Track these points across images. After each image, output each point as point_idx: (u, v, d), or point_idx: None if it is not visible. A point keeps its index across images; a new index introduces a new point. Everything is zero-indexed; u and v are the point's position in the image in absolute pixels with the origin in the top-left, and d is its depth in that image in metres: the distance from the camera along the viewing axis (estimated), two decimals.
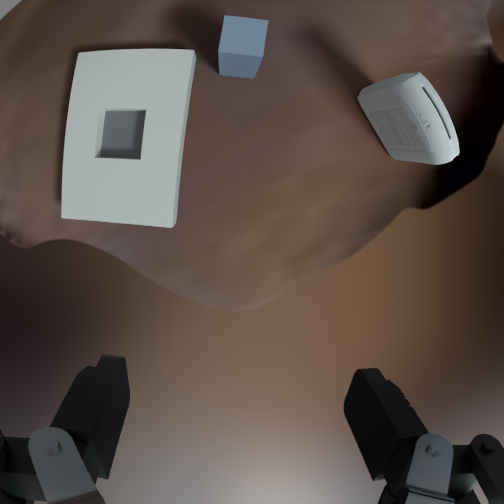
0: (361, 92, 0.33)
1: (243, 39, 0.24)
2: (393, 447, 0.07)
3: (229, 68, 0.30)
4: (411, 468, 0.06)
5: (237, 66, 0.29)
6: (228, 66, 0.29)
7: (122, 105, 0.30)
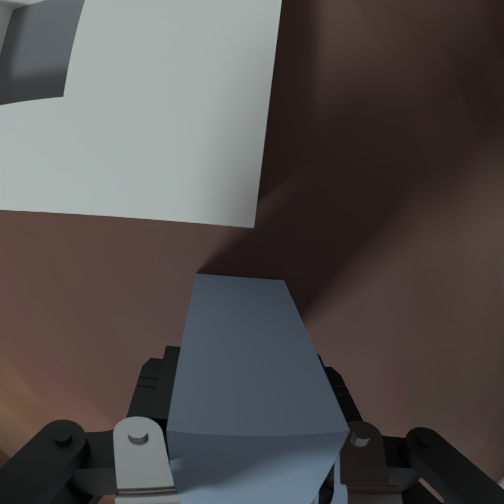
0: None
1: (232, 482, 0.06)
2: None
3: None
4: (341, 462, 0.06)
5: None
6: None
7: (87, 24, 0.08)
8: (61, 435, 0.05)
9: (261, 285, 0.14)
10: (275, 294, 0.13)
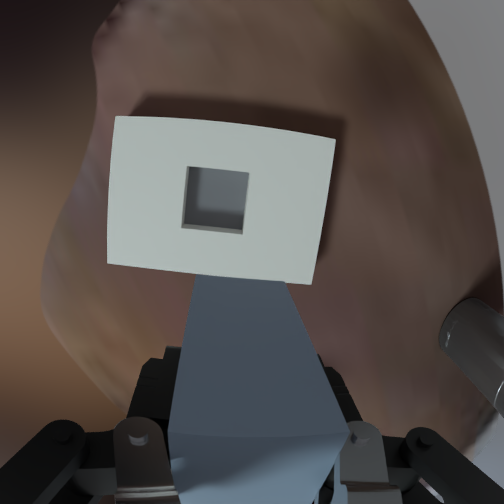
0: None
1: (233, 483, 0.06)
2: None
3: None
4: (341, 462, 0.06)
5: None
6: None
7: (251, 204, 0.28)
8: (62, 435, 0.05)
9: (262, 286, 0.14)
10: (274, 295, 0.13)
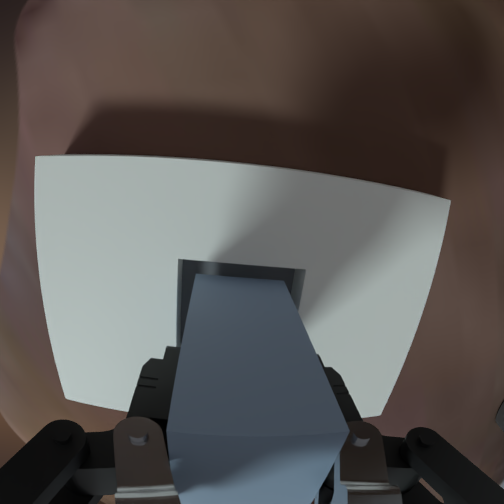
0: None
1: (232, 483, 0.06)
2: None
3: None
4: (341, 462, 0.06)
5: None
6: None
7: (303, 323, 0.15)
8: (61, 435, 0.05)
9: (261, 286, 0.14)
10: (274, 294, 0.13)
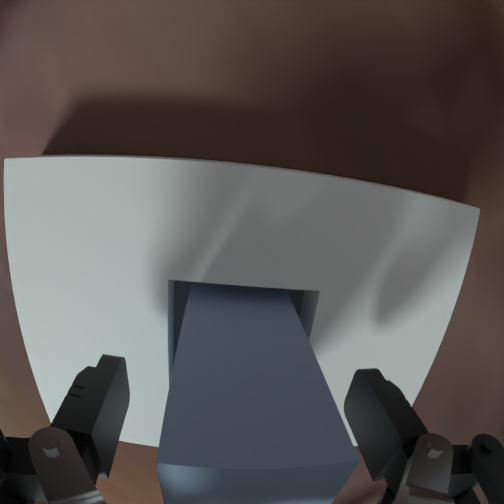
0: None
1: None
2: (393, 447, 0.07)
3: None
4: (411, 468, 0.06)
5: None
6: None
7: (315, 351, 0.13)
8: None
9: (262, 293, 0.13)
10: (276, 303, 0.12)
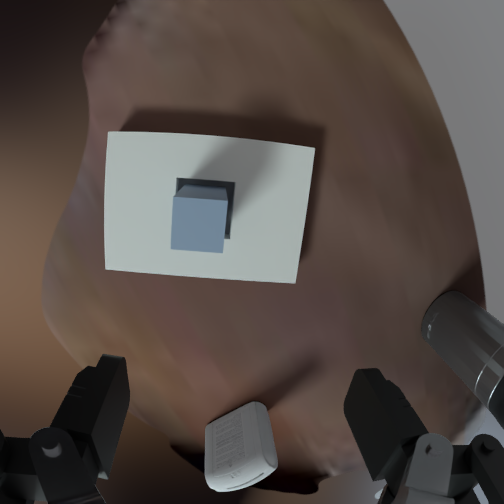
0: (259, 405, 0.41)
1: (192, 226, 0.23)
2: (393, 447, 0.07)
3: None
4: (411, 468, 0.06)
5: None
6: None
7: (237, 211, 0.31)
8: None
9: (214, 186, 0.31)
10: (218, 188, 0.30)
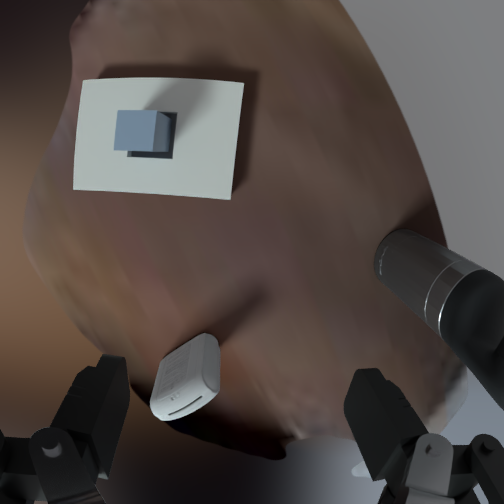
0: (209, 336, 0.45)
1: (130, 131, 0.27)
2: (393, 447, 0.07)
3: None
4: (411, 468, 0.06)
5: None
6: None
7: (178, 135, 0.34)
8: None
9: None
10: None
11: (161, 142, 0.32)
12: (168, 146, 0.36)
